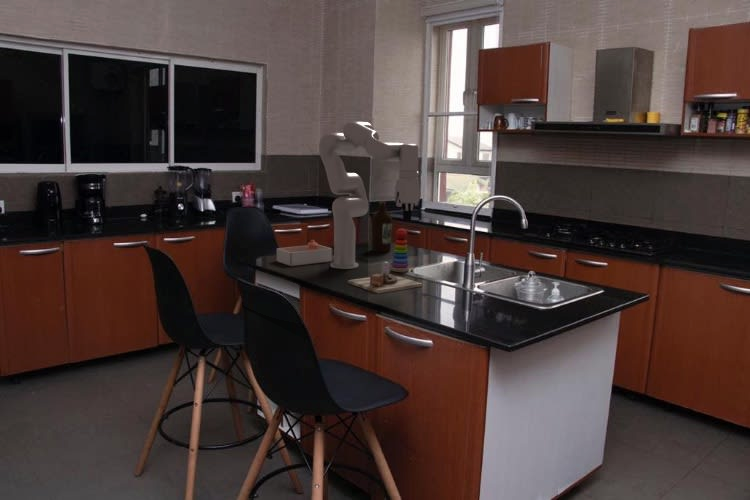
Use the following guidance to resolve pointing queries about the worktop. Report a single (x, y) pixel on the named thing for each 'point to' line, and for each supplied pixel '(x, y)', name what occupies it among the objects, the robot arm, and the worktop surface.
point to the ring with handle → (378, 280)
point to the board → (399, 285)
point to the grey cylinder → (383, 272)
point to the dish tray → (303, 255)
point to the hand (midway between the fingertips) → (406, 220)
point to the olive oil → (381, 229)
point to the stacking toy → (400, 253)
